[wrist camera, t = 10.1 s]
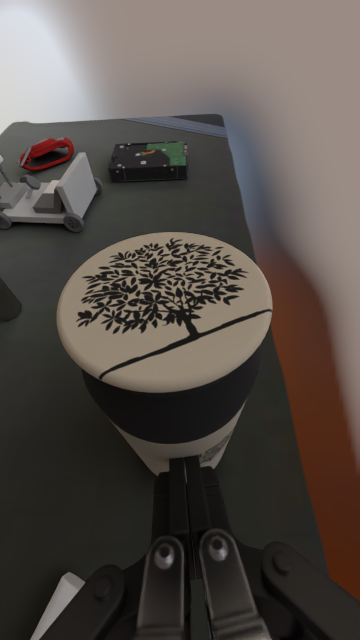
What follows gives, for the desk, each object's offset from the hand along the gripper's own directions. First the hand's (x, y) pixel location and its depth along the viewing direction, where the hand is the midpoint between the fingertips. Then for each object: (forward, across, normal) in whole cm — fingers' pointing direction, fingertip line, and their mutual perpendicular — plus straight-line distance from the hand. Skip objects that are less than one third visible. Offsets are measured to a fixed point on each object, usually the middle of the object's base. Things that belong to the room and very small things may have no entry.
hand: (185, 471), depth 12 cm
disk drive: (+45, +1, -30) cm, 54 cm away
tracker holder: (+50, +23, -35) cm, 65 cm away
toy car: (+37, +20, -22) cm, 47 cm away
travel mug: (+10, 0, +5) cm, 11 cm away
